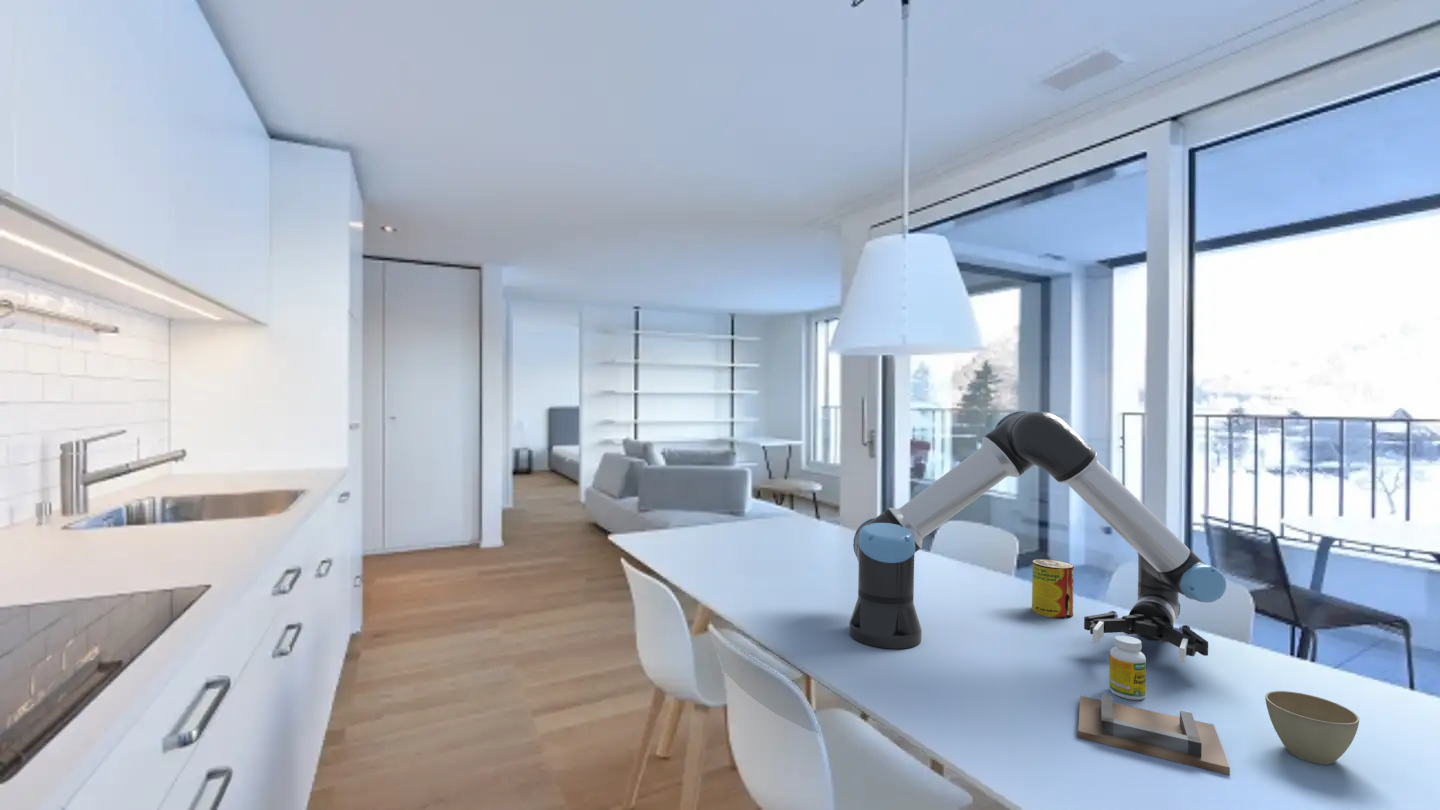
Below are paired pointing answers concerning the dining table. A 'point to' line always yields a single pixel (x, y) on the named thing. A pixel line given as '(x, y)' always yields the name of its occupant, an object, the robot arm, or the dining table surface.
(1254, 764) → the dining table surface
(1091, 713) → the u rest
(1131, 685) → the supplement bottle
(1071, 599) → the yellow red tin can
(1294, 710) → the beige bowl
